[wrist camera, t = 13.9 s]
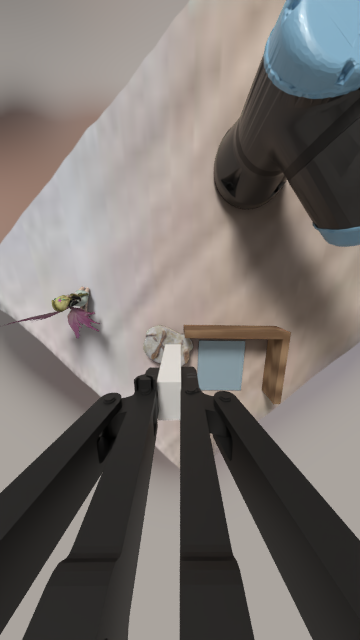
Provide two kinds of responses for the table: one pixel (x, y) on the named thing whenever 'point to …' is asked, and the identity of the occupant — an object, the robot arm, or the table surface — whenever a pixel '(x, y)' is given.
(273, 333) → the corner walls
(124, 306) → the table surface
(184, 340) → the stone
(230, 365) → the mat
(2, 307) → the table surface
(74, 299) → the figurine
